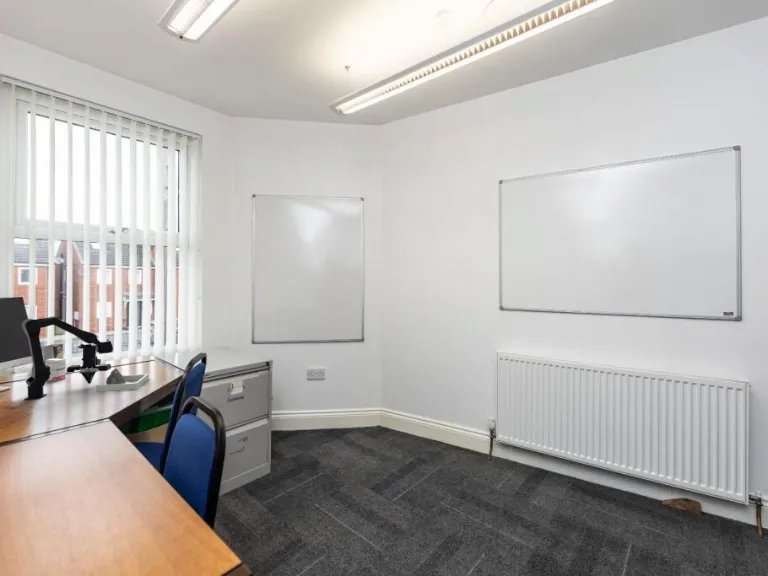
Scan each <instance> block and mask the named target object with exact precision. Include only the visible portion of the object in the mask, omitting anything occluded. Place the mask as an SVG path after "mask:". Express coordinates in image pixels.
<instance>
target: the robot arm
mask: <svg viewBox="0 0 768 576" xmlns="http://www.w3.org/2000/svg"><path fill="white" fill-rule="evenodd" d="M49 326H54V327H56V328H59V329H61V330H63V331H64V332H67V333H69V334H72V335H73V336H75V337H76V338H77V339H78V340H80V341H82V342H83V343H81V344H80V345H78V346H77V348H78V349H82V358H81V361H82V365H80V364H72V365H69V366H68V367H66V374H67V373H75V372H76V371H79V373H78V374H80V375H82V377H83V378H84V379H85V381H86V383H87V384H89V385H90V384H92V382H93V379H94V377H95V374H96V373H98V372H107V371H109V370H111V369H112V365H111V363H102V364H101V362H102V359H101V358H98V356H97V354H99V355H102V354H109V353H113V351H114V346H113V344H112V341H111V340H106V341H100V340H99V339H98V336H97V334H95V333H93V332H89V331H87V330H83V329H80V328H78V327H76V326H74V325H72V324H70V323H68V322H66V321H63V320H62V319H60V318H58V317H57V316H49V317H43V318H36V319H33V318H27V319H25V320H23V321H22V322H21V328H22V329H23V332H24V333H25V335H26V337H27V340H28V345H29V352H30V357H31V361H32V366H31V373H30V374H31V376H30V377H28V378H27V379H26V380H25V384H26V385H27V397H24V400H25V401H27V400H39V399H42V398H44V397H46V396H48V393H44V386H45V385H46V382H47V381H49V380H48V379H49V378H50V374H51V373H50V367H49V366H48V365H45V364H44V354H43V350H42V345H41V339H40V334H41V329H42V328H46V327H49ZM84 343H86V344H84Z"/></svg>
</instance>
